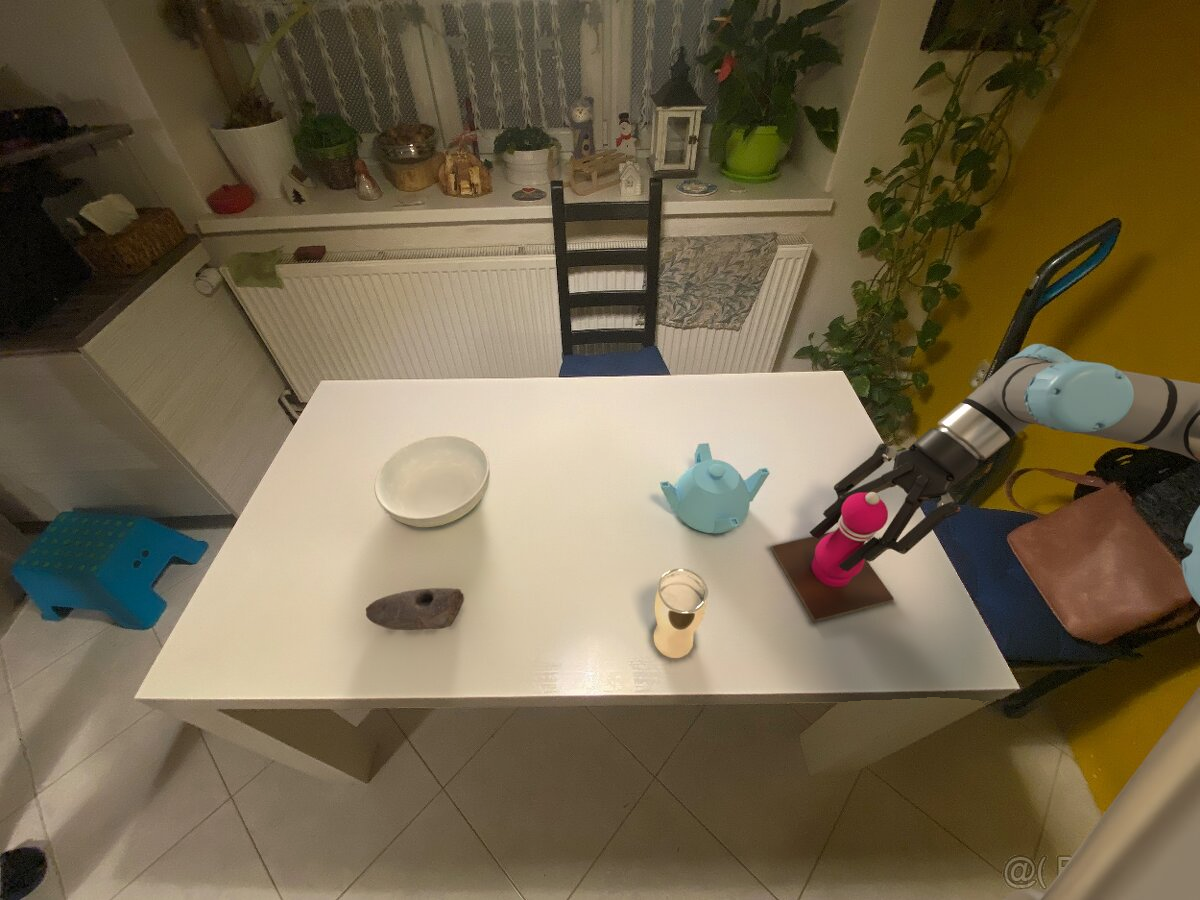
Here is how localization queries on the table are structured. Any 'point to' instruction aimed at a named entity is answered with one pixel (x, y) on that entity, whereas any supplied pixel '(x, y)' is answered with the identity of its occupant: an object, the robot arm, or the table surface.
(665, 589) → the beer glass
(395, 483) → the serving bowl
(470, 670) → the table surface
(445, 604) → the perforated stone tool
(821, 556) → the pepper mill
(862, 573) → the walnut board
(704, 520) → the teapot
